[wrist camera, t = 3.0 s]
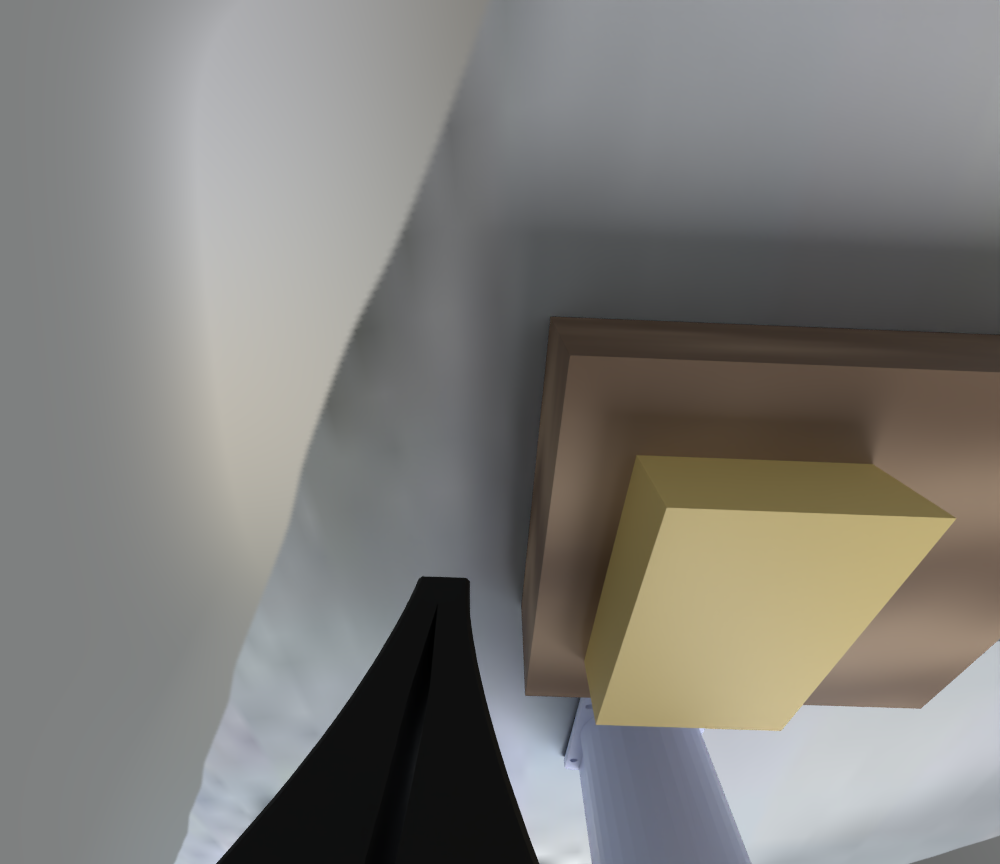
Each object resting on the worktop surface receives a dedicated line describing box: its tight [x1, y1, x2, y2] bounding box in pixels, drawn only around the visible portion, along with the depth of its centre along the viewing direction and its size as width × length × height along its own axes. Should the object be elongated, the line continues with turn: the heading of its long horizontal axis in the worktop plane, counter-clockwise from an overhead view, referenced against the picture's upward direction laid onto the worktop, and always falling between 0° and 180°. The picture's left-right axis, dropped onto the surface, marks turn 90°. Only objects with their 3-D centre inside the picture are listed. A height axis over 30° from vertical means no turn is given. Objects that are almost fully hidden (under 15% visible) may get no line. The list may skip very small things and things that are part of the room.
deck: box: [521, 317, 1000, 709], centre depth 13 cm, size 14×16×4 cm
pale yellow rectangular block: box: [584, 455, 957, 731], centre depth 11 cm, size 9×6×2 cm, turn 178°
